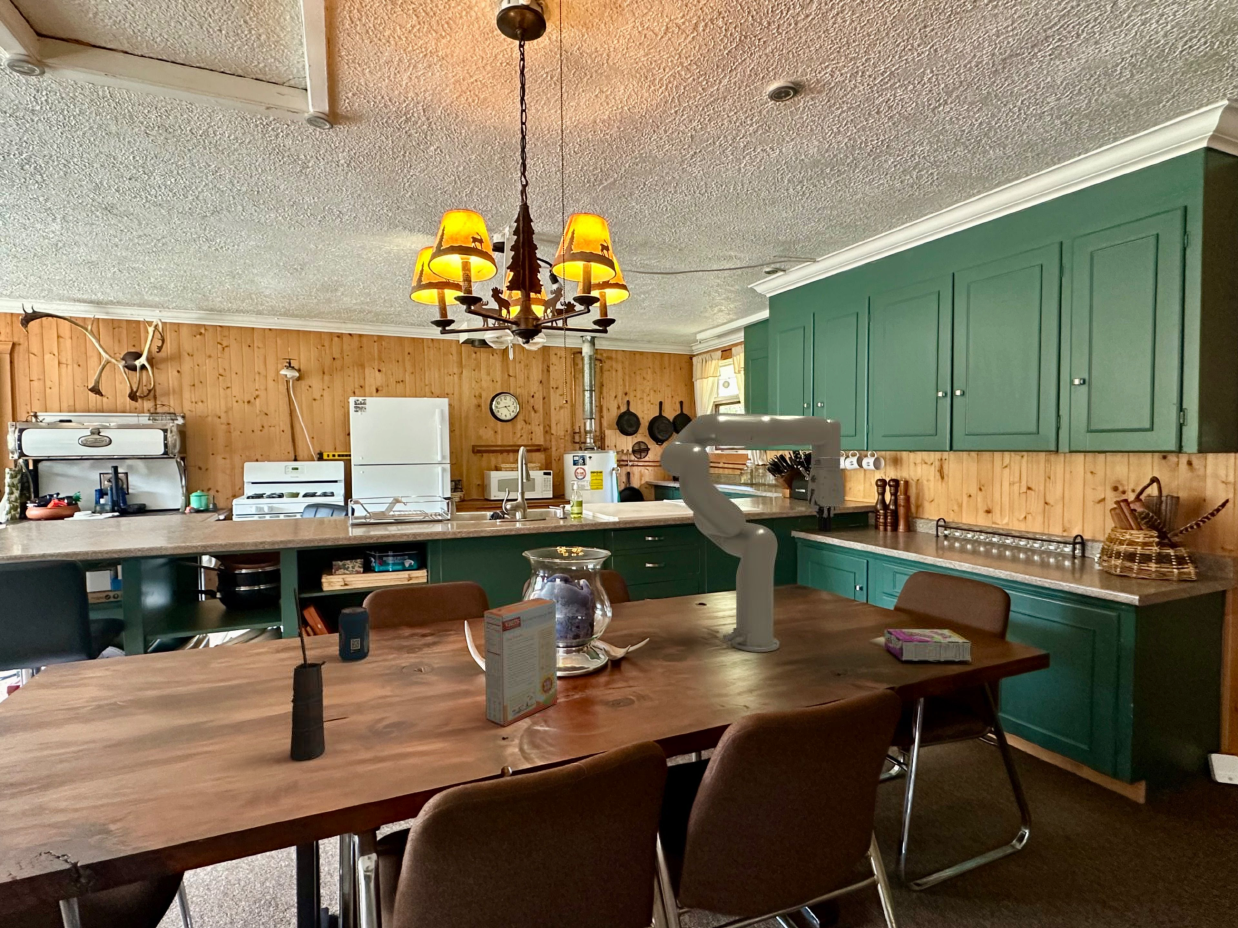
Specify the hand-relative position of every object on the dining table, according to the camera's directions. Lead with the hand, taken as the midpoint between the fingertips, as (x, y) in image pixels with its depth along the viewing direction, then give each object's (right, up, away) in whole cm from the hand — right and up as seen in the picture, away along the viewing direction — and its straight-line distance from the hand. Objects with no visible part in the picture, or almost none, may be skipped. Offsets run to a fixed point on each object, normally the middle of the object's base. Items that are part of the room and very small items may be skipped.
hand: (824, 531), depth 168 cm
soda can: (-121, -30, -18) cm, 126 cm away
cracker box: (-75, -30, -48) cm, 95 cm away
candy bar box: (+11, -26, -16) cm, 33 cm away
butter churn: (-108, -30, -65) cm, 129 cm away
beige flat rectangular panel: (+20, -29, -10) cm, 37 cm away
